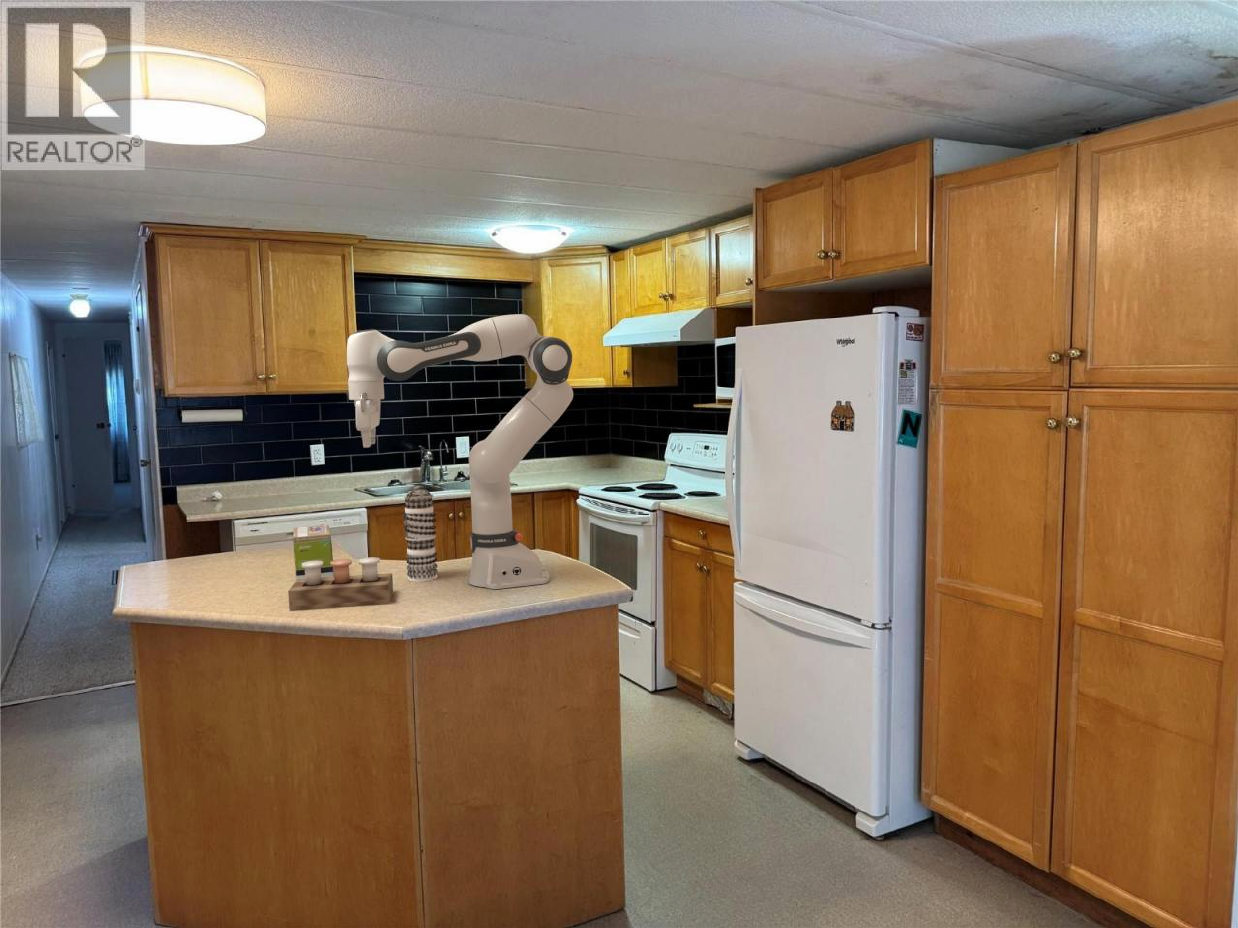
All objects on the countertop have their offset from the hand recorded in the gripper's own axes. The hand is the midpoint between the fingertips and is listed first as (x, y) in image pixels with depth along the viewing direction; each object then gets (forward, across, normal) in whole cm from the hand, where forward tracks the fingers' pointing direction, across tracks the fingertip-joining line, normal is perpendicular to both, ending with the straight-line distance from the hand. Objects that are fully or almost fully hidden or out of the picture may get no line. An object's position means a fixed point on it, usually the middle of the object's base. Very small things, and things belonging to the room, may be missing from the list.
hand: (369, 445), depth 219 cm
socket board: (+39, -7, +8) cm, 41 cm away
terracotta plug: (+34, -7, +8) cm, 36 cm away
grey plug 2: (+34, -7, +1) cm, 35 cm away
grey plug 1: (+34, -7, +15) cm, 38 cm away
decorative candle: (+40, +12, -11) cm, 43 cm away
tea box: (+40, +17, +19) cm, 47 cm away
